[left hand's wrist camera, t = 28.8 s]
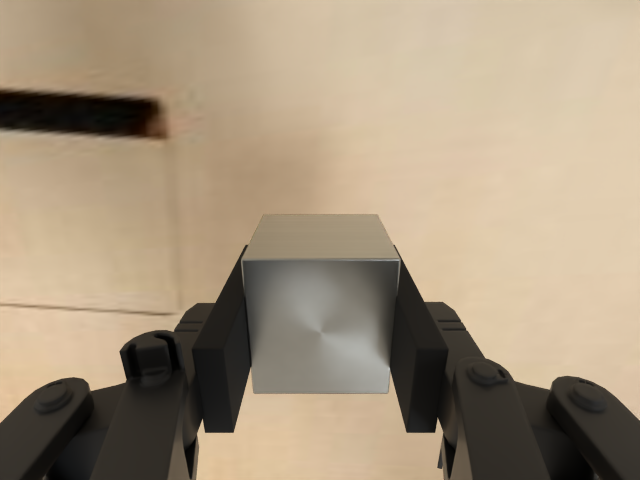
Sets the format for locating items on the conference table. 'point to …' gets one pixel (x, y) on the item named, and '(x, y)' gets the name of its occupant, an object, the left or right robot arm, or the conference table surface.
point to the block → (320, 304)
